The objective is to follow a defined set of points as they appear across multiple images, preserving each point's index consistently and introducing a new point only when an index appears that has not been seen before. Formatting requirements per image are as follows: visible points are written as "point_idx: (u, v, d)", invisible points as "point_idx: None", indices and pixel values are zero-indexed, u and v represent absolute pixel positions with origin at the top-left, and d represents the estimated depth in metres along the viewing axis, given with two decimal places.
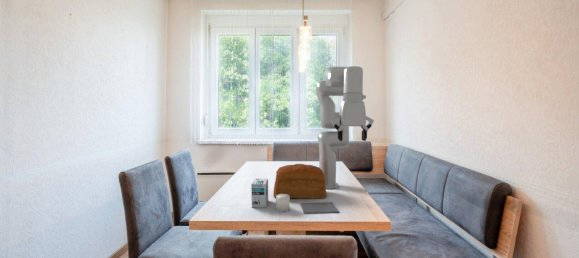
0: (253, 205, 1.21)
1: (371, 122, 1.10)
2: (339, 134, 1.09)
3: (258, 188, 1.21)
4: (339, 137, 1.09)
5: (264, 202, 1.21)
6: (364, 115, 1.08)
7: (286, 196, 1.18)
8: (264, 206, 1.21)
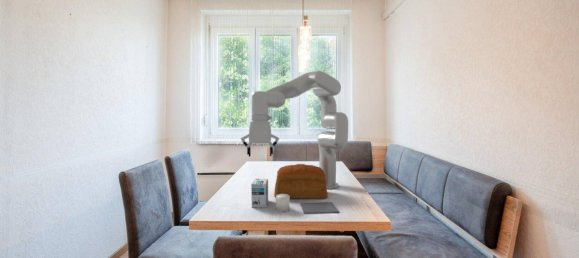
0: (253, 205, 1.21)
1: (276, 140, 1.25)
2: (247, 150, 1.23)
3: (258, 188, 1.21)
4: (248, 153, 1.24)
5: (264, 202, 1.21)
6: (269, 134, 1.23)
7: (286, 196, 1.18)
8: (264, 206, 1.21)
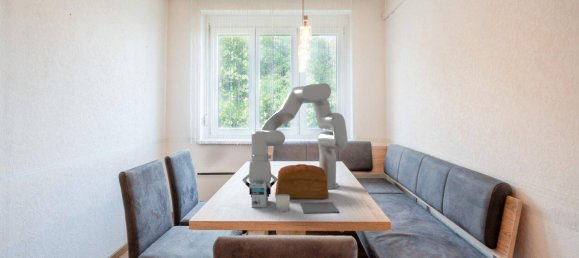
0: (253, 205, 1.21)
1: (275, 180, 1.26)
2: (250, 191, 1.25)
3: (258, 188, 1.21)
4: (250, 193, 1.25)
5: (264, 202, 1.21)
6: (269, 173, 1.24)
7: (286, 196, 1.18)
8: (264, 206, 1.21)
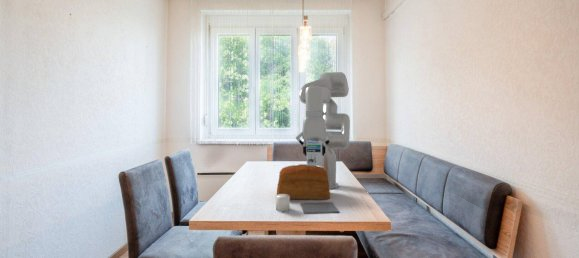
0: (308, 163, 1.15)
1: (330, 139, 1.19)
2: (304, 149, 1.19)
3: (314, 145, 1.14)
4: (304, 152, 1.19)
5: (320, 160, 1.14)
6: (324, 130, 1.17)
7: (286, 196, 1.18)
8: (320, 164, 1.14)
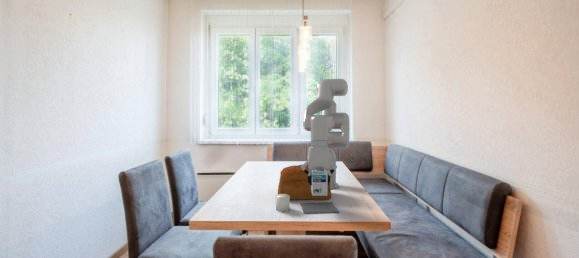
0: (314, 193, 1.15)
1: (334, 168, 1.20)
2: (309, 178, 1.19)
3: (320, 175, 1.14)
4: (309, 181, 1.19)
5: (326, 190, 1.15)
6: (329, 160, 1.18)
7: (286, 196, 1.18)
8: (326, 194, 1.15)
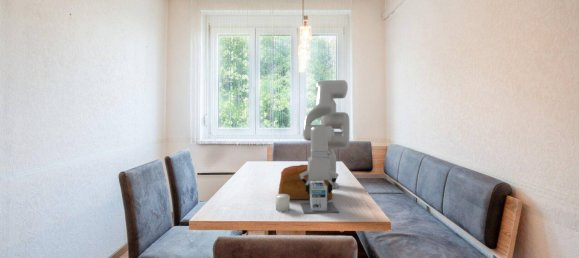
0: (314, 208, 1.15)
1: (336, 176, 1.20)
2: (306, 187, 1.19)
3: (319, 190, 1.15)
4: (306, 190, 1.19)
5: (325, 205, 1.15)
6: (329, 171, 1.18)
7: (286, 196, 1.18)
8: (325, 209, 1.15)
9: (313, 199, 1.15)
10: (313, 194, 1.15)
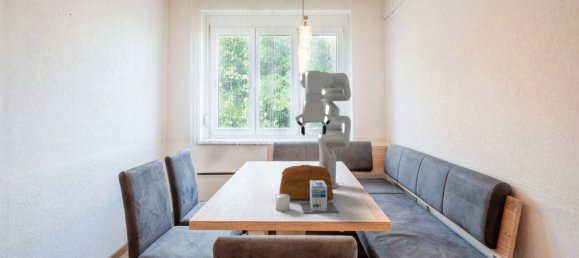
0: (314, 208, 1.15)
1: (330, 118, 1.27)
2: (302, 129, 1.26)
3: (319, 190, 1.15)
4: (302, 132, 1.26)
5: (325, 205, 1.15)
6: (323, 113, 1.25)
7: (286, 196, 1.18)
8: (325, 209, 1.15)
9: (313, 199, 1.15)
10: (313, 194, 1.15)
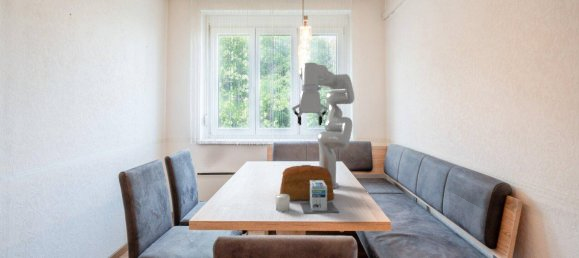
0: (314, 208, 1.15)
1: (326, 109, 1.31)
2: (298, 119, 1.30)
3: (319, 190, 1.15)
4: (298, 122, 1.30)
5: (325, 205, 1.15)
6: (319, 103, 1.29)
7: (286, 196, 1.18)
8: (325, 209, 1.15)
9: (313, 199, 1.15)
10: (313, 194, 1.15)
